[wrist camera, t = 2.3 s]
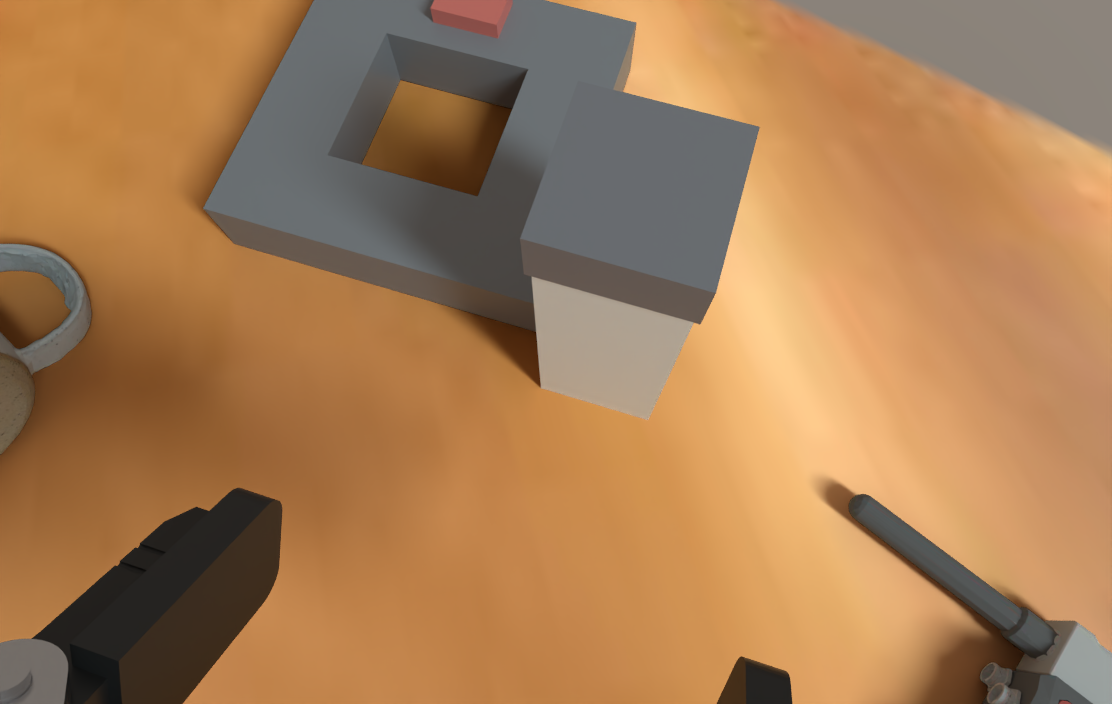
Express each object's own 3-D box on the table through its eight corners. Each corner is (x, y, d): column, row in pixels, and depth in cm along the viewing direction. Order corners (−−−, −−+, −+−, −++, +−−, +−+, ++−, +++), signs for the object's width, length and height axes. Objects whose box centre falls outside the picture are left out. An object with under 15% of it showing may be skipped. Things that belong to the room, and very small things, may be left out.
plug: (536, 390, 30) (520, 238, 18) (571, 286, 31) (578, 81, 19) (650, 424, 29) (715, 293, 17) (680, 317, 31) (759, 126, 19)
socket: (234, 243, 32) (193, 197, 29) (357, 1, 37) (335, -65, 33) (540, 333, 31) (537, 296, 27) (630, 70, 35) (638, 8, 32)
